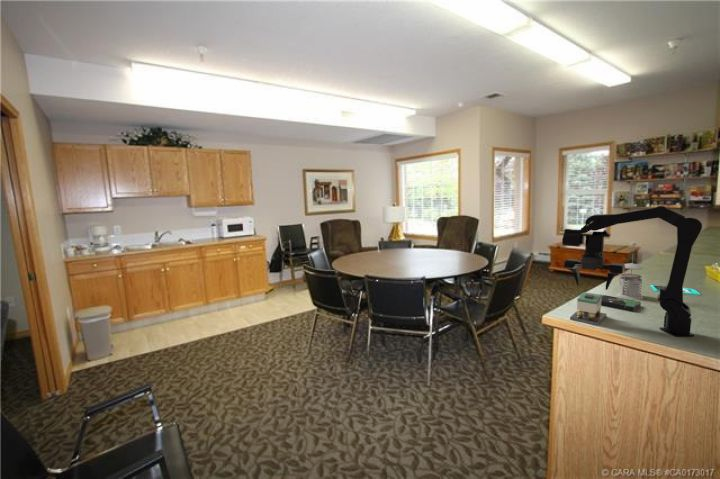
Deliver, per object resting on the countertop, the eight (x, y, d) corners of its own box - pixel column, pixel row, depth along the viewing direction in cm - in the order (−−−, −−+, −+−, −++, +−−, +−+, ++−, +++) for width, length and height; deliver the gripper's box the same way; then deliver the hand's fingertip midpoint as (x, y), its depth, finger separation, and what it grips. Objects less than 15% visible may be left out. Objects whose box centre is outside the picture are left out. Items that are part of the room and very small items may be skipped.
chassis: (580, 310, 138) (580, 301, 137) (606, 316, 131) (607, 306, 130) (570, 319, 129) (570, 309, 128) (597, 325, 122) (598, 315, 122)
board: (583, 302, 135) (583, 290, 135) (601, 305, 131) (601, 293, 131) (576, 310, 128) (577, 297, 127) (595, 313, 123) (596, 300, 123)
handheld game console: (700, 296, 152) (700, 293, 152) (654, 292, 160) (654, 289, 160) (693, 290, 160) (693, 288, 160) (649, 287, 168) (649, 284, 168)
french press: (648, 297, 152) (653, 242, 148) (632, 300, 147) (636, 245, 144) (624, 291, 161) (628, 240, 157) (609, 295, 157) (612, 242, 153)
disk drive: (591, 305, 146) (634, 313, 134) (591, 299, 145) (634, 306, 134) (599, 300, 152) (640, 307, 141) (599, 294, 152) (641, 300, 140)
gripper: (560, 248, 129) (558, 287, 131) (620, 253, 115) (617, 296, 117) (568, 244, 136) (567, 282, 138) (626, 248, 123) (623, 290, 124)
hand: (592, 287), depth 129 cm, fingers open, 9 cm apart
